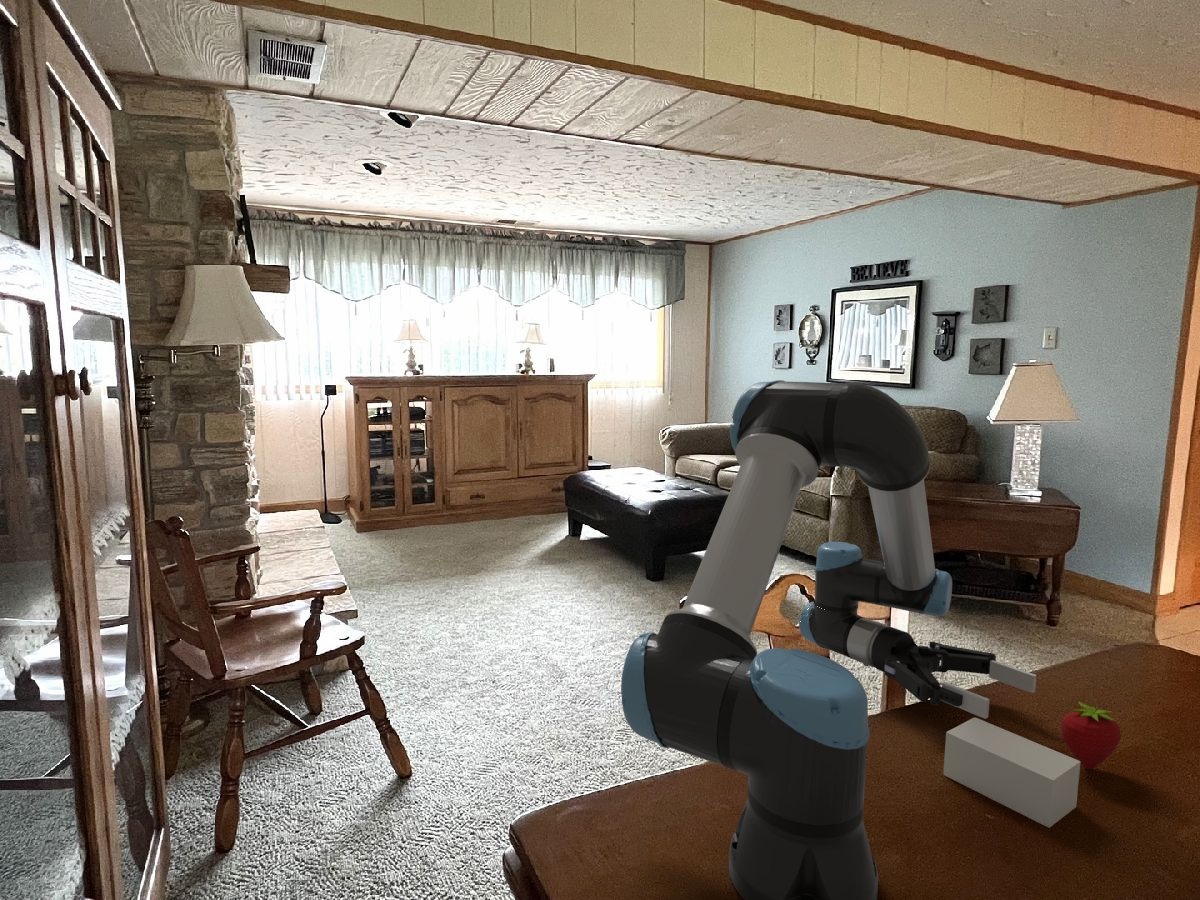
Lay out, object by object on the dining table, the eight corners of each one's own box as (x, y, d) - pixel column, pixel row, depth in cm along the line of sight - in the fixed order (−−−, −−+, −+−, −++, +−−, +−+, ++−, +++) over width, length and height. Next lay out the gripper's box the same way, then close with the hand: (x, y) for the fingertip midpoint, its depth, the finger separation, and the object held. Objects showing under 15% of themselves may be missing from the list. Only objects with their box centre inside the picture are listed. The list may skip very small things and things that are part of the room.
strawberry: (1045, 759, 98) (1051, 690, 97) (1089, 752, 100) (1096, 684, 99) (1083, 784, 93) (1090, 711, 91) (1130, 776, 94) (1137, 705, 93)
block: (1049, 827, 84) (1053, 780, 83) (943, 774, 95) (946, 732, 94) (1076, 807, 88) (1080, 761, 87) (971, 758, 99) (974, 717, 98)
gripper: (922, 651, 129) (1050, 697, 111) (834, 687, 115) (963, 746, 98) (925, 611, 128) (1054, 651, 111) (836, 642, 114) (967, 694, 97)
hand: (1012, 696), depth 104 cm, fingers open, 13 cm apart
